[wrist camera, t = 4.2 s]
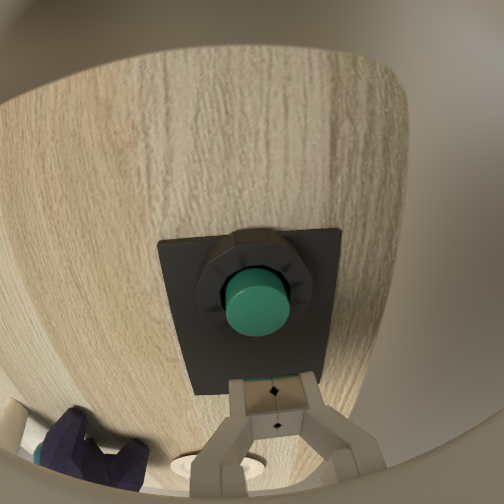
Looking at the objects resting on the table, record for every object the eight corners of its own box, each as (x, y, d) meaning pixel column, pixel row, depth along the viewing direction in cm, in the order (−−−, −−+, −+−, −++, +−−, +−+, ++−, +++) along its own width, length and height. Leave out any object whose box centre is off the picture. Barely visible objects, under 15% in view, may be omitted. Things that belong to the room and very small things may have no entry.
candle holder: (223, 440, 25) (225, 475, 21) (280, 465, 30) (285, 492, 26) (151, 458, 27) (148, 486, 23) (212, 482, 32) (213, 506, 28)
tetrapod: (65, 396, 20) (31, 491, 10) (169, 446, 24) (150, 534, 15) (54, 407, 25) (29, 476, 16) (132, 447, 29) (115, 513, 20)
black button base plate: (157, 232, 15) (146, 251, 13) (338, 220, 15) (355, 236, 13) (195, 389, 21) (193, 413, 18) (317, 378, 21) (325, 400, 19)
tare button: (222, 269, 14) (222, 288, 12) (284, 264, 14) (291, 283, 12) (228, 317, 15) (229, 339, 14) (283, 313, 15) (289, 334, 14)
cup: (12, 410, 23) (-13, 473, 12) (-3, 388, 21) (-34, 455, 10) (40, 423, 24) (18, 491, 13) (25, 401, 22) (-3, 476, 11)
